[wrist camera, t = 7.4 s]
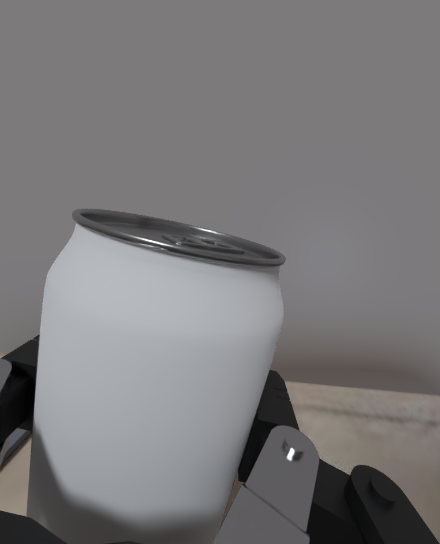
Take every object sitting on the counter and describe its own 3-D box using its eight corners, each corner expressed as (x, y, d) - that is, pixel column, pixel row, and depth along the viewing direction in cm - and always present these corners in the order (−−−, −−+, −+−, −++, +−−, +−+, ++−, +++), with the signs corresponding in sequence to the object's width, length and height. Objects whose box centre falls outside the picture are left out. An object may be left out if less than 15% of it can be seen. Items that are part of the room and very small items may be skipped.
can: (17, 501, 10) (35, 194, 7) (163, 433, 14) (209, 226, 11) (28, 802, 5) (90, 254, 3) (240, 566, 10) (347, 270, 7)
